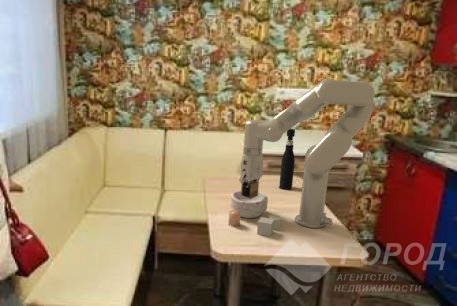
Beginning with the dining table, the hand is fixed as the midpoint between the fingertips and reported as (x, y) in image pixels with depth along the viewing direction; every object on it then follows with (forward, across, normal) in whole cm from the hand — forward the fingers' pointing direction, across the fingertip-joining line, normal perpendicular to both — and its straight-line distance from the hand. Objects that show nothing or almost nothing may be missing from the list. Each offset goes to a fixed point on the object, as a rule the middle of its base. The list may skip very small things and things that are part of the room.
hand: (249, 193), depth 172 cm
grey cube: (+9, -11, -15) cm, 21 cm away
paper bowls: (+9, 0, 0) cm, 9 cm away
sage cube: (+9, -4, -15) cm, 18 cm away
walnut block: (+1, 0, 0) cm, 1 cm away
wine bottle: (+9, +43, +7) cm, 44 cm away
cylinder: (+9, -13, -2) cm, 16 cm away
